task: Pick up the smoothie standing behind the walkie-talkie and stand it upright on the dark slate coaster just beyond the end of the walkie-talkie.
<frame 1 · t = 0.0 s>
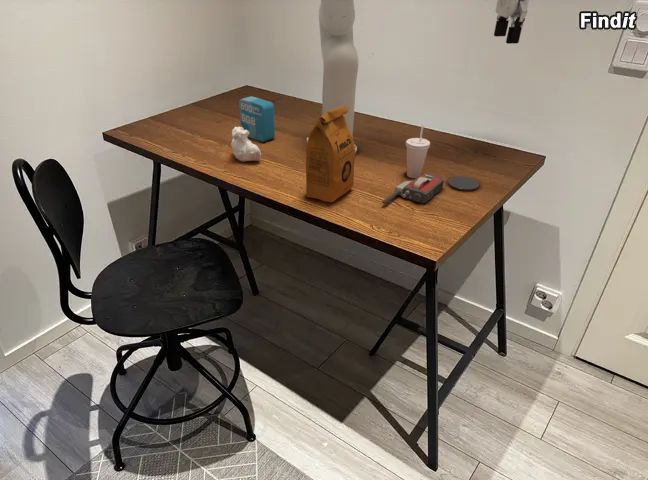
hand: (505, 39, 141), 31 cm above the table, tool pointing down, fingers open, 9 cm apart
coaster: (463, 184, 138), on the table
walkie-talkie: (413, 197, 133), on the table
smoothie: (413, 176, 144), on the table
coffee package: (330, 194, 135), on the table
data package: (257, 137, 171), on the table
white animal figurine: (244, 160, 155), on the table
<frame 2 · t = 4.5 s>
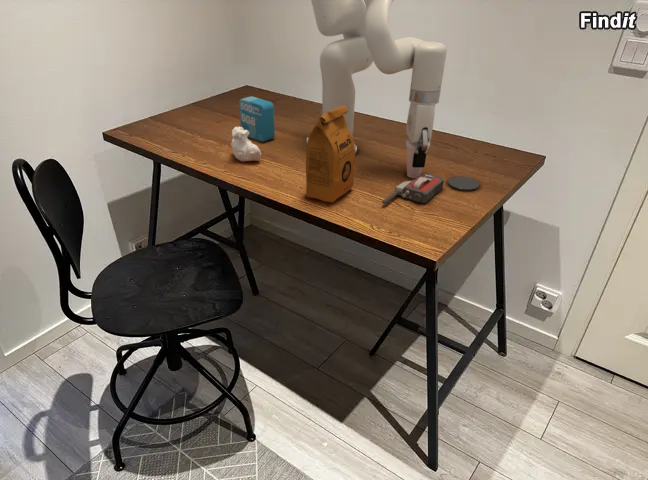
hand: (415, 161, 141), 4 cm above the table, tool pointing down, fingers closed on smoothie, 6 cm apart
smoothie: (413, 175, 144), on the table, touching gripper
everything else where it was.
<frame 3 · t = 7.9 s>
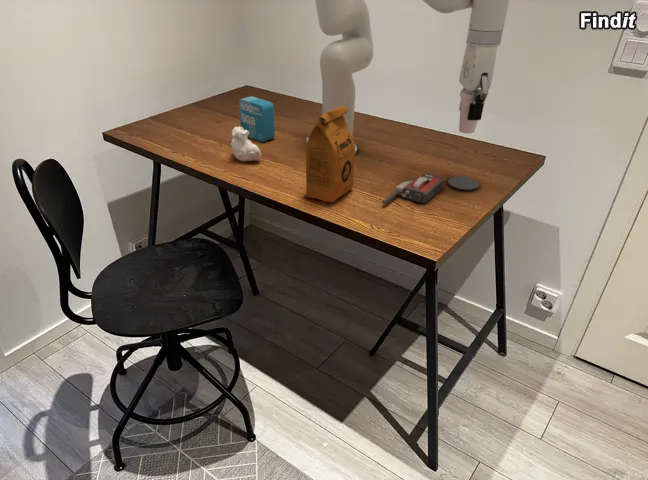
hand: (469, 114, 128), 19 cm above the table, tool pointing down, fingers closed on smoothie, 6 cm apart
smoothie: (466, 131, 131), point 14 cm above the table, touching gripper
everything else where it was.
when the fingers open (5 cm above the table, at t = 11.5 s): smoothie stays where it is, resting on coaster.
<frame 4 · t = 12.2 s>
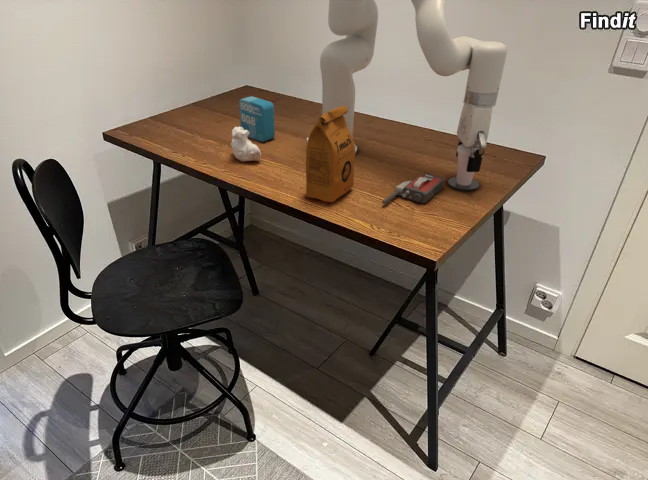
hand: (467, 163, 135), 6 cm above the table, tool pointing down, fingers open, 9 cm apart
smoothie: (463, 183, 138), resting on coaster
everything else where it was.
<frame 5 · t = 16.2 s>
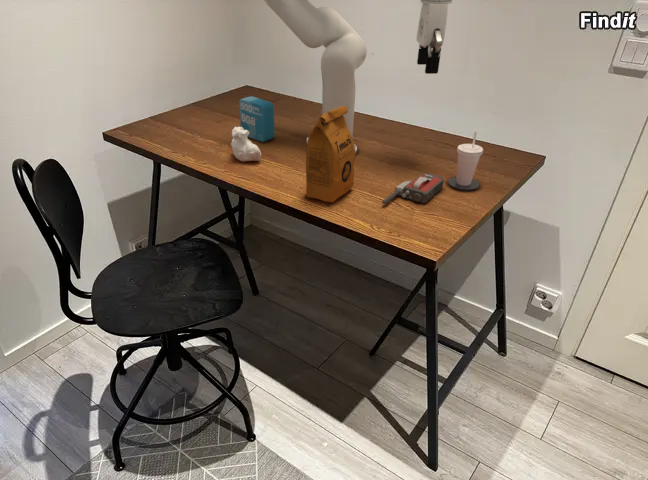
hand: (426, 68, 136), 26 cm above the table, tool pointing down, fingers open, 9 cm apart
nothing on the table moved.
at the end: smoothie 0.1 cm off-centre on the coaster, point 0.4 cm above the coaster's base; smoothie inside the target area on the table beside the walkie-talkie (1.1 cm from its centre), point 0.6 cm above the table; smoothie tilted 0° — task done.
